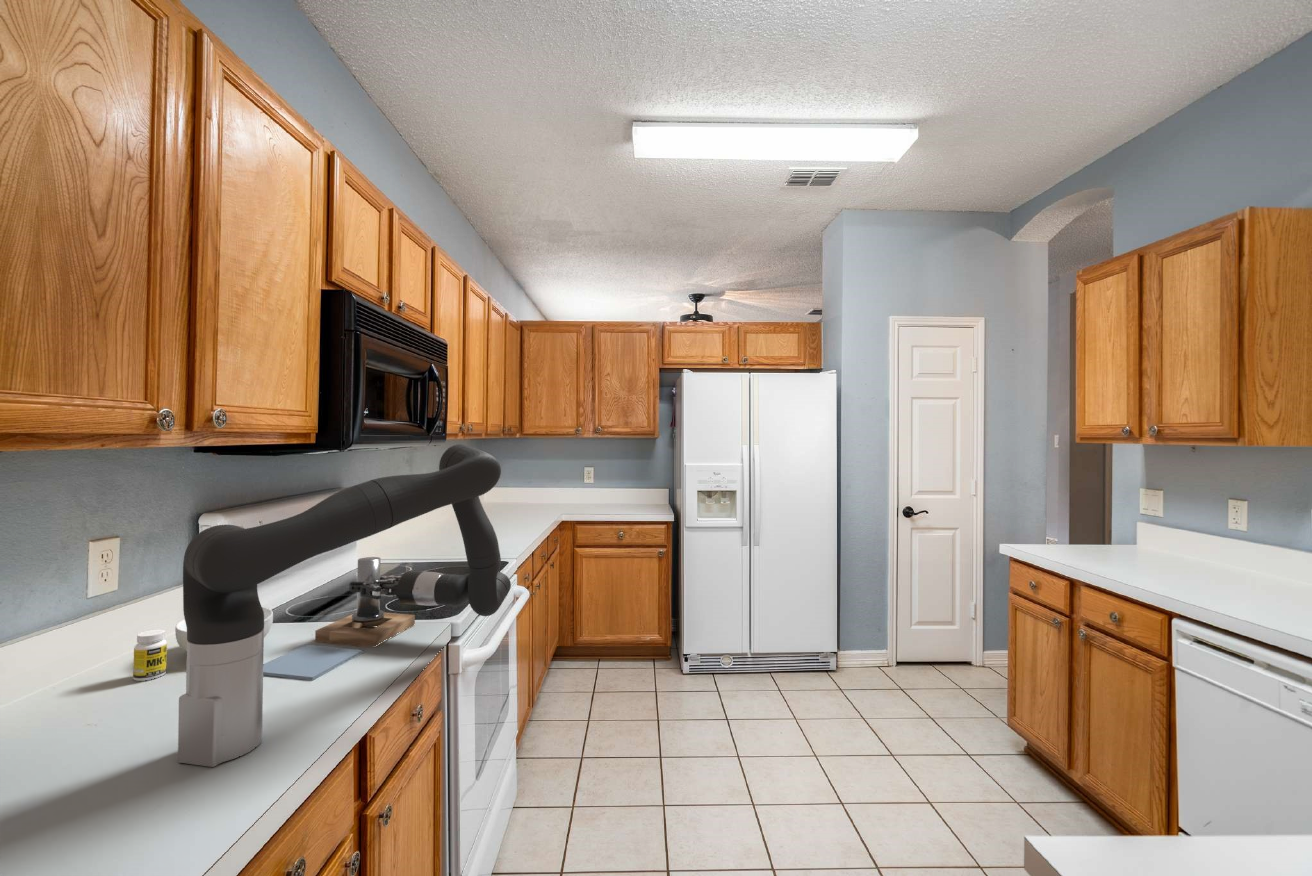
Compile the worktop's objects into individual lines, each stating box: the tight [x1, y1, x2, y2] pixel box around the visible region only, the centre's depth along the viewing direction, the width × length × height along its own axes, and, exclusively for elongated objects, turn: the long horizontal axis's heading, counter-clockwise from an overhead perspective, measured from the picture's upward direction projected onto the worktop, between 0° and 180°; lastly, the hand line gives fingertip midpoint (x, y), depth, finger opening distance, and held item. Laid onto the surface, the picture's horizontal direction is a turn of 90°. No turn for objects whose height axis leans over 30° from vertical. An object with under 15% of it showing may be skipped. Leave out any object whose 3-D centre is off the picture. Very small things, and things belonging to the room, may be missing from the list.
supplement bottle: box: [132, 629, 168, 682], centre depth 109 cm, size 5×5×8 cm
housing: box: [314, 611, 416, 647], centre depth 134 cm, size 15×15×2 cm
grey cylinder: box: [351, 556, 385, 623], centre depth 134 cm, size 7×7×14 cm
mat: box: [263, 644, 363, 681], centre depth 117 cm, size 14×14×1 cm
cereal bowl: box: [175, 606, 274, 652], centre depth 122 cm, size 17×17×7 cm
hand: (358, 583), depth 135 cm, fingers closed on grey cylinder, 4 cm apart
